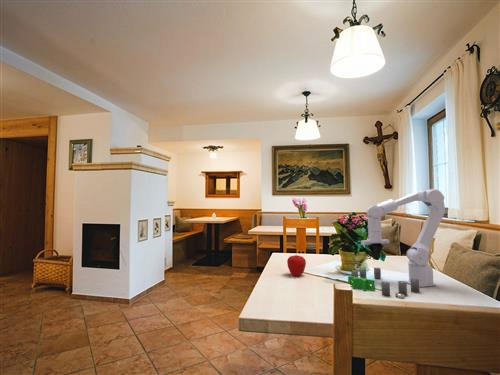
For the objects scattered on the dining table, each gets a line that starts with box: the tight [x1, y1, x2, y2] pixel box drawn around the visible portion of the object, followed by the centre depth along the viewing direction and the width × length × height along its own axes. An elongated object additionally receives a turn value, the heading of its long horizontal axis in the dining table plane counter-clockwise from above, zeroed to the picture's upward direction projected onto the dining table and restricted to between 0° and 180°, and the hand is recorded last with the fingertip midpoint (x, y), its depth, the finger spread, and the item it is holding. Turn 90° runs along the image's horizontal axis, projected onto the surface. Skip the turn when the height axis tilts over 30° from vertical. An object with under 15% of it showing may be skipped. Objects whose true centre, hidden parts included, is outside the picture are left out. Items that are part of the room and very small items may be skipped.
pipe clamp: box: [347, 275, 376, 292], centre depth 116 cm, size 11×4×5 cm, turn 49°
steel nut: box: [394, 292, 406, 299], centre depth 105 cm, size 3×3×1 cm
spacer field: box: [350, 267, 421, 297], centre depth 119 cm, size 18×25×5 cm
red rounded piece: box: [286, 254, 307, 277], centre depth 139 cm, size 10×10×11 cm
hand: (375, 259), depth 126 cm, fingers closed
